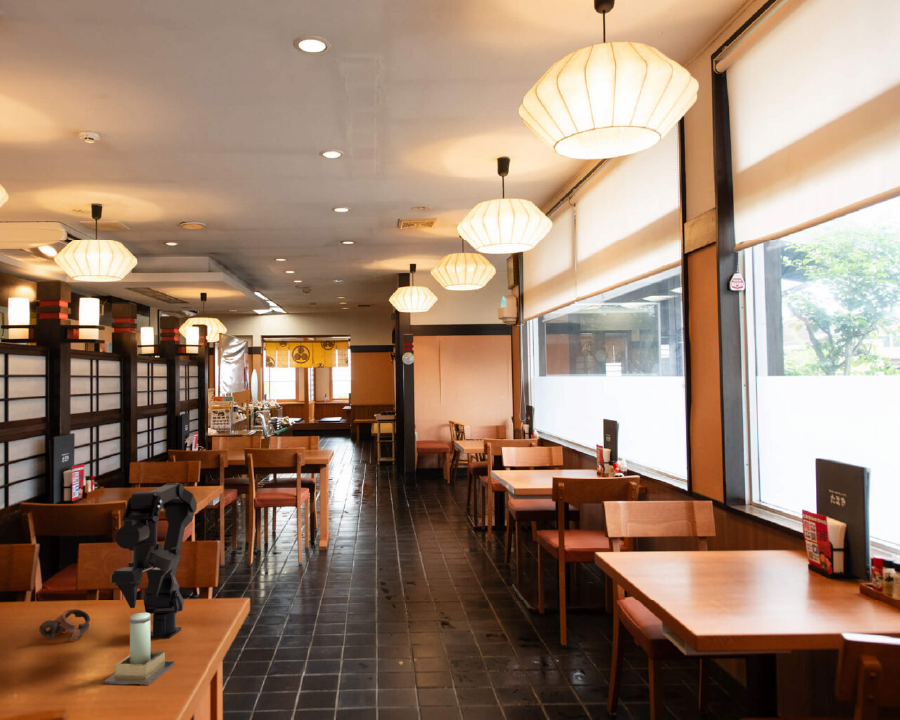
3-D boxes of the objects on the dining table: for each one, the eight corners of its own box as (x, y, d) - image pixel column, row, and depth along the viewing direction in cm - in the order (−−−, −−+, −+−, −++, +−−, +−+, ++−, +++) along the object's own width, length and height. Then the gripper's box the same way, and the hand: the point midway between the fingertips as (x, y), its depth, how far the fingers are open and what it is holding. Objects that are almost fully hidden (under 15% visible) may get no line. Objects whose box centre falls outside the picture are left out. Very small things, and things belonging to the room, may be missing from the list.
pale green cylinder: (129, 669, 152) (129, 614, 153) (150, 665, 154) (150, 611, 155) (129, 677, 148) (129, 620, 149) (151, 672, 150) (151, 616, 151)
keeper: (132, 663, 157) (132, 648, 157) (174, 664, 156) (174, 649, 156) (103, 683, 146) (103, 667, 146) (148, 685, 145) (148, 669, 145)
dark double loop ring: (74, 630, 182) (87, 605, 181) (84, 652, 176) (98, 627, 176) (28, 632, 172) (42, 606, 172) (38, 656, 166) (52, 629, 166)
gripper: (151, 548, 154) (150, 614, 153) (193, 533, 173) (192, 592, 171) (109, 548, 156) (108, 613, 154) (155, 533, 174) (154, 592, 173)
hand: (144, 602), depth 163 cm, fingers open, 9 cm apart
